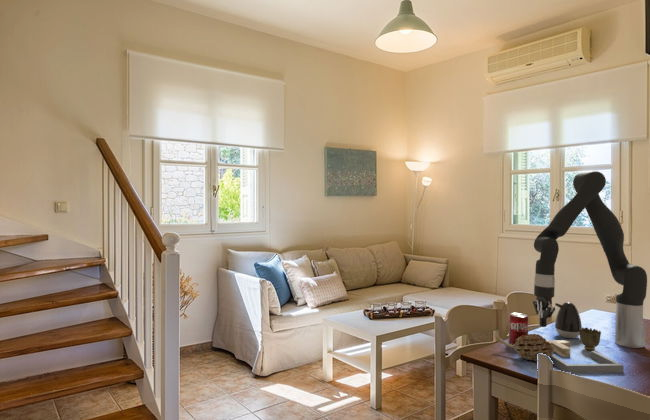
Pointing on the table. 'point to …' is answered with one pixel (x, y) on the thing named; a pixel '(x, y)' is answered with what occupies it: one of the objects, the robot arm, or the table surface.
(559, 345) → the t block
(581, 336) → the cup
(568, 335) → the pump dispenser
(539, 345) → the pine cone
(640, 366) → the table surface
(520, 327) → the soda can
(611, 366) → the shallow grey tray
